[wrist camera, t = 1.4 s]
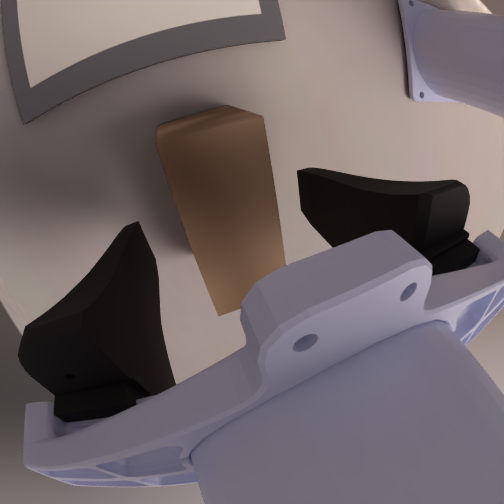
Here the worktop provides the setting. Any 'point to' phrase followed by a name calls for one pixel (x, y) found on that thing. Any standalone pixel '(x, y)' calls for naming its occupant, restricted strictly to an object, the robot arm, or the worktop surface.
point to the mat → (117, 40)
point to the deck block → (224, 198)
